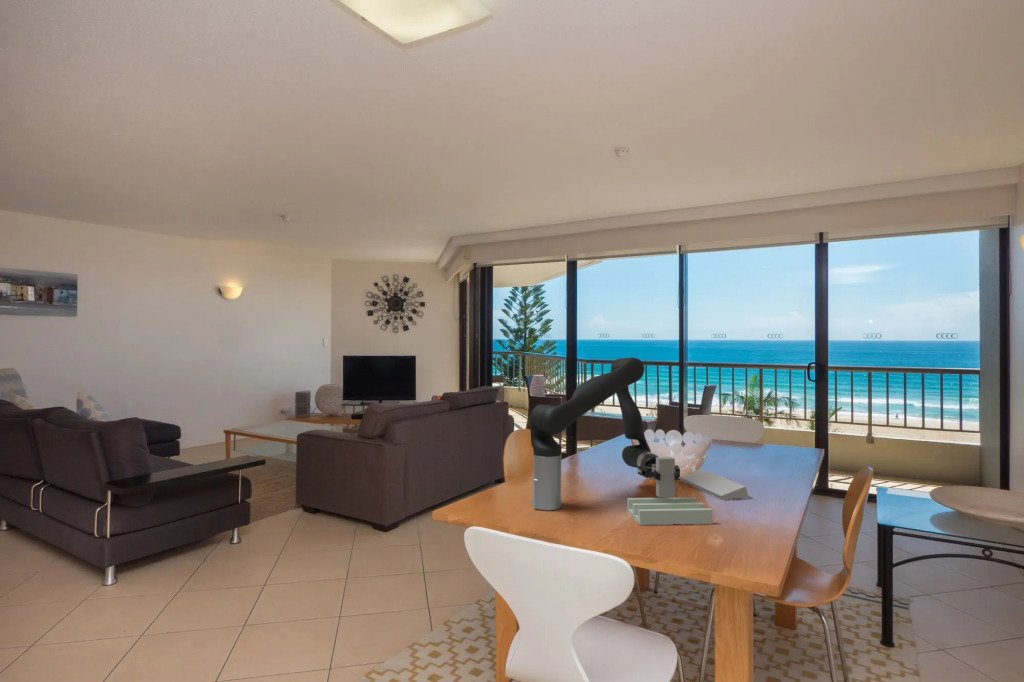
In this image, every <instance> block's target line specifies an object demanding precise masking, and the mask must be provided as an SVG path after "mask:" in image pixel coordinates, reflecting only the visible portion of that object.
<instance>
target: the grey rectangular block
mask: <svg viewBox="0 0 1024 682" xmlns="http://www.w3.org/2000/svg"><path fill="white" fill-rule="evenodd" d="M675 459H676V458H674V457H672V456H658V457H656V471H657V472H659V473H660V475H661V480H660V481H658V480H657V479H655V495H656V497H657V498H674V497H676V496H675V495H676V493H675V492H676V485H675V483H676V480H675V465H676V461H675Z"/></svg>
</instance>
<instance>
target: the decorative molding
mask: <svg viewBox="0 0 1024 682" xmlns="http://www.w3.org/2000/svg"><path fill="white" fill-rule="evenodd" d="M698 468H699V469H698V470H697V471H695V472H693V473H692V474H690V475H686V476H684V477H680V480H681V481H680V480H679V481H680V482H682V481H683V482H682V483H684V482H685V483H684V484H686V483H687V484H686V485H688V486H690V487H693V486H694V487H693V488H695V487H696V488H695V489H697V488H698V490H699V489H700V490H699V491H702V492H704V493H706V494H708V493H709V494H708V495H710V494H711V495H710V496H712V495H713V497H714V498H717V499H719V500H721V499H722V501H723V500H725V501H734V500H738V499H740V500H748V498H749V497H750V496H749V494H748V489H747V486H746V485H743V484H741V483H739V482H736V481H733V480H731V479H728V478H725V477H723V476H722V475H718V474H717V473H716V474H715V473H713V472H710V471H708V470H705V469H702V468H700V467H698Z"/></svg>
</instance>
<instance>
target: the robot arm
mask: <svg viewBox="0 0 1024 682" xmlns="http://www.w3.org/2000/svg"><path fill="white" fill-rule="evenodd" d="M644 373H645V364H644V363H643V361H642V360H641V359H639V358H638V357H632V356H631V357H621V358H617V359H615V360H613V361H612V362H611V365H610V372H607V373H602V374H599V375H597V376H594V377H592V378H589V379H588V380H586V381H584V382H583V383H581V384H579V385H578V386H577V387H576V388H575V389H574V390H573V391H574V392H573V394H572V397H571V398H570V399H568V400H566V401H565V402H563V403H562V404H559V405H549V404H537V405H536V406H535V407H534V408H533V409H532V411H531V414H530V418H529V419H530V420H529V425H530V427H529V428H530V429H529V430H530V444H531V448H532V449H533V451H532V452H533V457H532V458H533V459H532V461H533V463H532V464H533V465H532V467H533V472H532V489H531V490H532V493H531V496H532V500H531V501H532V504H531V505H532V507H533V509H534V510H541V511H556V510H559V509H561V508H562V446H561V444H559V443H558V442H557V441H556V439H555V437H554V435H558V434H560V433H562V432H564V431H565V430H566V429H567V428H569V427H570V426H571V425H572V424H573V423H574V422H575V421H577V420H578V419H579V418H581V417H582V416H584V415H585V414H586V413H588V412H589V411H591V410H592V409H595V408H596V407H598V406H600V405H601V404H602V403H604V402H605V401H607V400H609V398H611V397H612V396H614V395H616V397H617V401H618V404H619V407H620V412H621V417H622V418H621V419H622V424H623V425H622V426H623V432H624V437H625V438H626V439H628V440H635V441H637V442H638V444H634V445H627V446H625V447H624V448H623V450H622V452H621V457H622V458H621V459H622V460H623V462H624V463H625V464H626V466H629V467H631V468H636V469H637V474H638V476H639V475H640V476H641V477H644V478H646V479H648V478H650V479H653V480H656V479H657V480H658V481H660V480H661V475H660V473H659V472H657V471H656V457H659V456H658V455H657V454H655V453H653V452H652V450H651V448H650V446H649V444H648V441H647V438H646V436H645V432H644V431H645V430H644V425H643V418H642V414H641V411H640V409H639V407H638V406H637V404H636V403H635V401H634V400H633V397H632V395H631V393H630V390H629V389H630V388H629V386H631V385H633V384H634V383H637V382H639V381H640V380H641V379H642V378H643V376H644ZM680 469H681V468H680V466H679V465H677V464H675V481H679V480H678V479H679V477H680Z"/></svg>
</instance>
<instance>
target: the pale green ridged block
mask: <svg viewBox="0 0 1024 682" xmlns="http://www.w3.org/2000/svg"><path fill="white" fill-rule="evenodd" d="M626 500H627V503H626V504H627V505H626V506H627V507H626V512H627V511H628V512H629V513H630V514H631V515H632V516H633V517H634V518H633V517H632V516H631V515H630V514H629V513H628V512H627V513H628V514H629V515H630V516H631V517H632V518H633V519H634V520H635V521H636V523H637V522H638V523H639V524H640V525H639V524H638V523H637V524H638V525H639V526H674V525H673V524H682V526H684V524H693V525H713V509H712V508H710V507H709V508H706V507H705V504H704V503H703V502H697V498H696V497H695V496H694V497H693V496H690V497H689V496H687V497H684V496H681V497H676V496H675V497H664V498H659V497H627V499H626Z"/></svg>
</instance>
